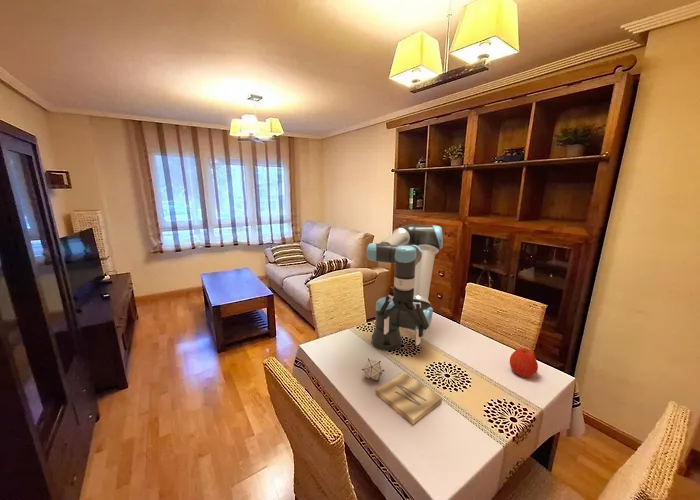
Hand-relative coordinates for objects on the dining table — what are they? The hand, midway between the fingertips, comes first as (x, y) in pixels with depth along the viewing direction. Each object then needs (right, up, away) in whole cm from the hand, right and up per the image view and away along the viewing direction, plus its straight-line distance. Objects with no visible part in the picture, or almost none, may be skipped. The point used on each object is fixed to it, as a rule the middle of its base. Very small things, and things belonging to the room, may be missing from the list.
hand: (401, 338), depth 110 cm
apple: (+53, -17, +9) cm, 57 cm away
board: (+1, -21, -5) cm, 21 cm away
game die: (-11, -18, +5) cm, 22 cm away
